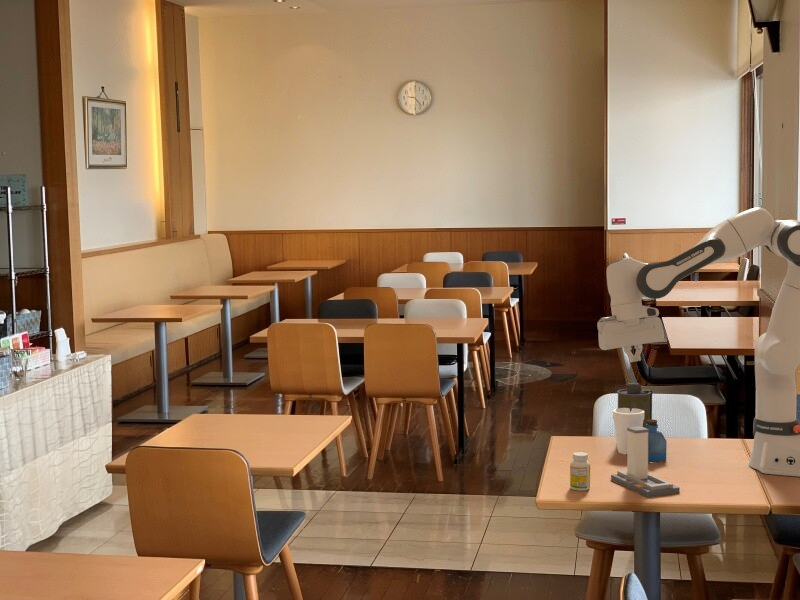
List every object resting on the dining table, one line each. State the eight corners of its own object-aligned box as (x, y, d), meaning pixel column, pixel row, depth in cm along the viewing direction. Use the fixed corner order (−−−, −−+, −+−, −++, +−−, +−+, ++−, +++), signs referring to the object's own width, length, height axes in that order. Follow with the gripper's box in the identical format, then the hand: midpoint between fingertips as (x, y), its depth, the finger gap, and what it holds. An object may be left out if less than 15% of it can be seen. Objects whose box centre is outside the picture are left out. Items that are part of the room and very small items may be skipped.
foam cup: (641, 457, 314) (642, 414, 313) (611, 454, 317) (611, 413, 316) (645, 449, 323) (645, 408, 322) (615, 447, 326) (615, 407, 325)
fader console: (611, 479, 290) (611, 471, 289) (641, 476, 293) (641, 467, 293) (647, 497, 273) (647, 488, 273) (679, 493, 276) (679, 483, 276)
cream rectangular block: (626, 476, 287) (627, 427, 286) (639, 474, 289) (640, 426, 287) (635, 480, 283) (635, 430, 282) (648, 478, 285) (648, 429, 283)
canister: (624, 450, 322) (624, 387, 320) (611, 442, 333) (612, 381, 331) (657, 448, 324) (657, 385, 322) (643, 440, 334) (644, 379, 332)
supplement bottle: (582, 492, 278) (582, 457, 277) (566, 488, 282) (566, 454, 281) (594, 488, 282) (594, 453, 281) (578, 484, 286) (578, 450, 285)
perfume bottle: (654, 456, 315) (655, 417, 314) (666, 461, 309) (666, 421, 308) (637, 458, 313) (637, 419, 312) (648, 463, 307) (648, 423, 306)
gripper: (602, 317, 292) (609, 366, 292) (663, 308, 299) (670, 356, 299) (590, 319, 298) (598, 366, 298) (651, 310, 305) (658, 357, 305)
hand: (635, 361), depth 298 cm, fingers closed
